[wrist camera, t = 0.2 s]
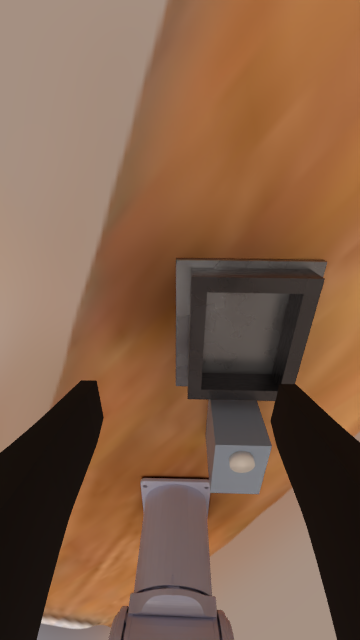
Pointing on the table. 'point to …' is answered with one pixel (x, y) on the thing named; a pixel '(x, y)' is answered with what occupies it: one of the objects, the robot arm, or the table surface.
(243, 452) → the block
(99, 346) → the table surface
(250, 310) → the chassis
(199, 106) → the table surface
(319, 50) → the table surface
